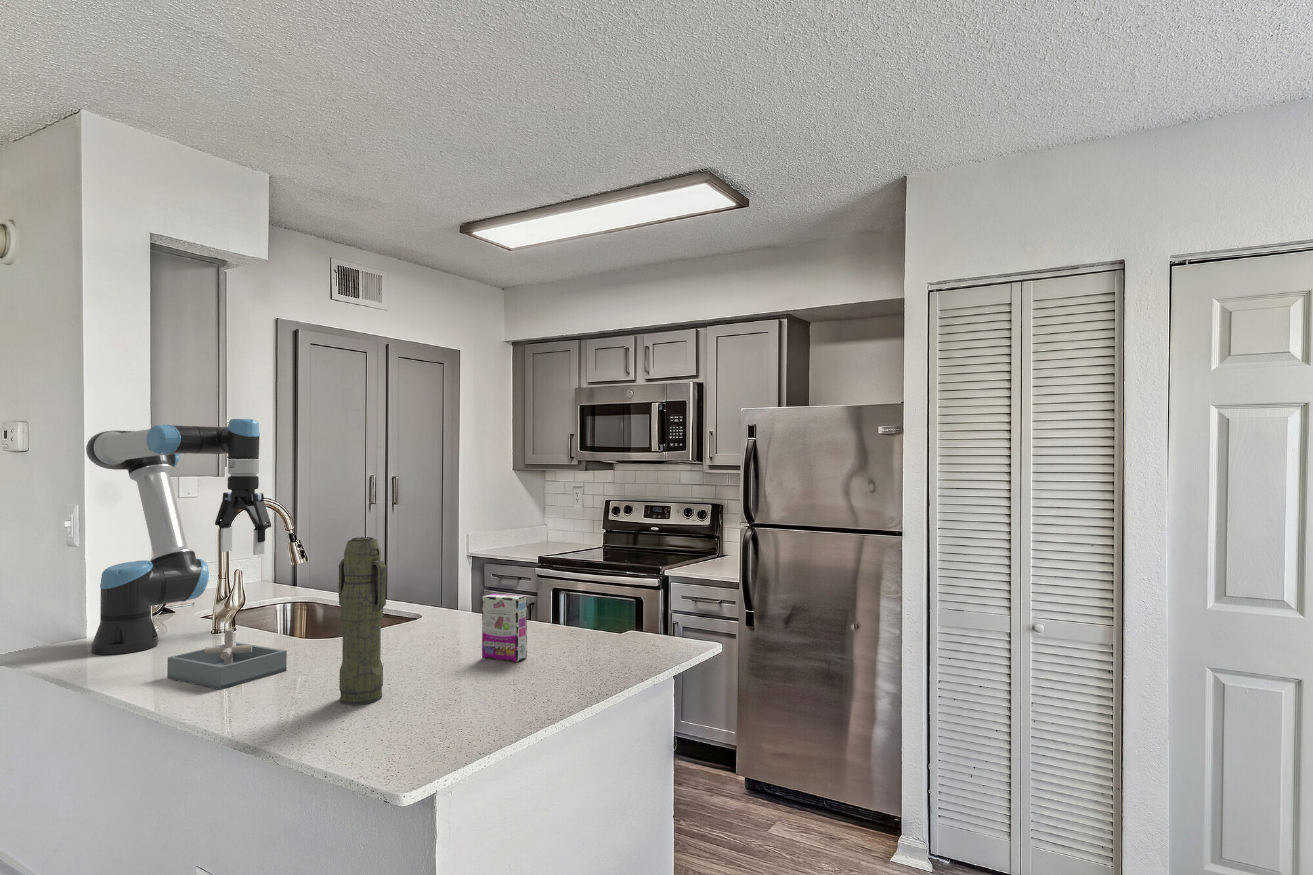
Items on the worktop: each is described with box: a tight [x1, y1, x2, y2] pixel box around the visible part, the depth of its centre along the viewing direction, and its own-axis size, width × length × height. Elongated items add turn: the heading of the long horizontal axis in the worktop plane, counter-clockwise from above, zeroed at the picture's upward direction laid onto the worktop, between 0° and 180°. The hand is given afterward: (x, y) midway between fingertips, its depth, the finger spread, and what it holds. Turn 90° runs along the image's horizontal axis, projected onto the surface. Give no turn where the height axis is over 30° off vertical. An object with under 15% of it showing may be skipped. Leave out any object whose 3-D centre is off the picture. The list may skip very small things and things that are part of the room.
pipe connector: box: [204, 628, 253, 665], centre depth 186 cm, size 10×10×10 cm
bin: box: [166, 641, 288, 690], centre depth 186 cm, size 20×17×5 cm
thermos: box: [338, 536, 388, 706], centre depth 168 cm, size 9×12×35 cm
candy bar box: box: [481, 593, 528, 663], centre depth 201 cm, size 11×5×16 cm, turn 68°
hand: (242, 553), depth 209 cm, fingers open, 13 cm apart
